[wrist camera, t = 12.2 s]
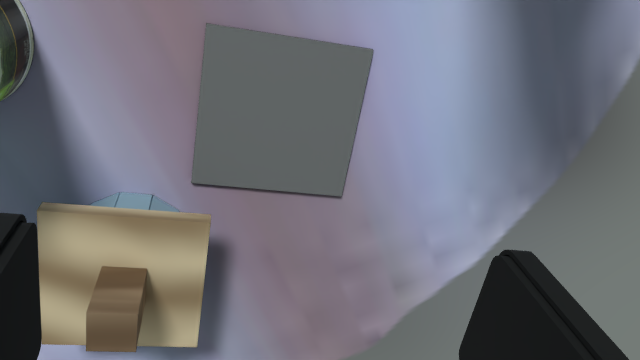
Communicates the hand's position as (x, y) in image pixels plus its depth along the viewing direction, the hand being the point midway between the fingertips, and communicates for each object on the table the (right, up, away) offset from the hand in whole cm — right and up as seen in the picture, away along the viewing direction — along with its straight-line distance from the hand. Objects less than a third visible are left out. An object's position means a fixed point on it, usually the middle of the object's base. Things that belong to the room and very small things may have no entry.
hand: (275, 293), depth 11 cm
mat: (-2, +7, +30) cm, 31 cm away
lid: (-13, -5, +28) cm, 31 cm away
